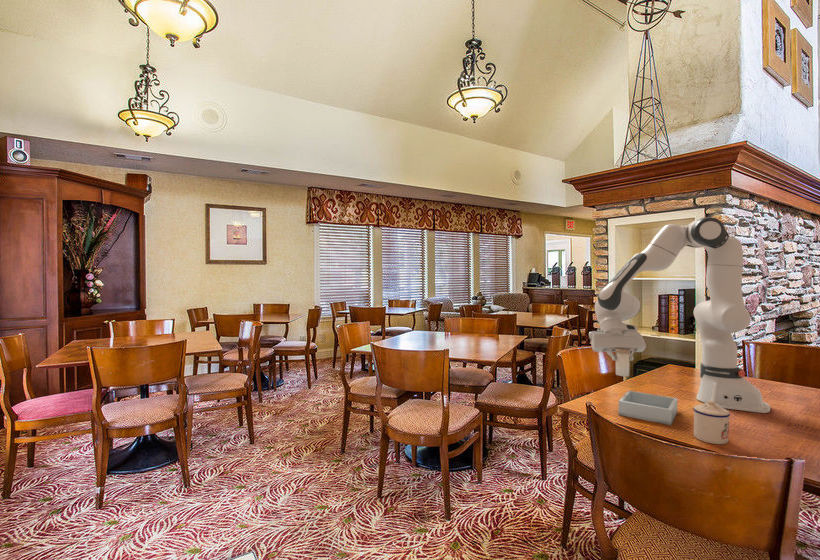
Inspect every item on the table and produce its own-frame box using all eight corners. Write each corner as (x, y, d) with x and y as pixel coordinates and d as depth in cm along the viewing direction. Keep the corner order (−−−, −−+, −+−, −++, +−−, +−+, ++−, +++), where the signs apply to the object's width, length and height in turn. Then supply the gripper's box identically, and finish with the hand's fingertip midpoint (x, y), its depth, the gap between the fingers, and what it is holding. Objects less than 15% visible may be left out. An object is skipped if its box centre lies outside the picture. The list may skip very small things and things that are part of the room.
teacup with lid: (729, 447, 123) (730, 408, 122) (692, 440, 128) (692, 402, 128) (728, 434, 133) (729, 397, 132) (693, 428, 138) (694, 392, 138)
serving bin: (677, 412, 153) (677, 398, 153) (670, 425, 140) (671, 410, 140) (628, 403, 163) (628, 390, 163) (618, 414, 150) (618, 400, 150)
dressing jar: (631, 374, 167) (631, 349, 167) (628, 377, 163) (628, 351, 163) (616, 372, 170) (617, 347, 170) (613, 375, 166) (613, 349, 166)
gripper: (589, 326, 174) (598, 355, 164) (640, 326, 172) (652, 355, 163) (585, 335, 178) (593, 363, 169) (635, 335, 177) (647, 364, 167)
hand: (623, 359), depth 166 cm, fingers closed on dressing jar, 5 cm apart
